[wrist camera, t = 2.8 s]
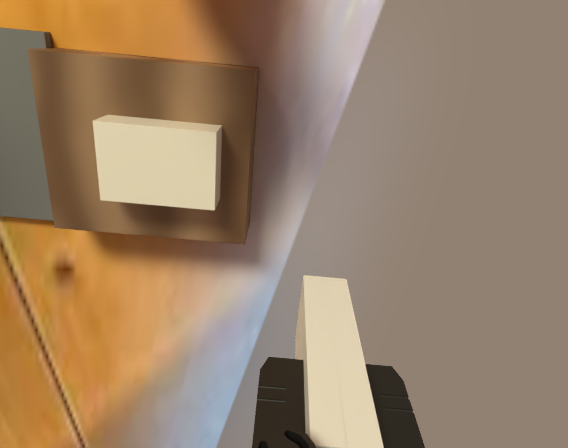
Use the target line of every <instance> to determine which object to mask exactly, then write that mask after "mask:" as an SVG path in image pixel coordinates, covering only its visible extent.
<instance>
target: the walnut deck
mask: <svg viewBox="0 0 568 448" xmlns="http://www.w3.org/2000/svg"><path fill="white" fill-rule="evenodd" d="M27 50H28V56H29V63H30V69H31V76H32V83H33V89H34V96H35V102H36V109H37V115H38V122H39V128H40V135H41V142H42V148H43V155H44V161H45V168H46V174H47V181H48V188H49V194H50V201H51V207H52V214H53V220H54V227H55V228H64V229H75V230H86V231H98V232H109V233H120V234H132V235H143V236H155V237H166V238H177V239H189V240H200V241H211V242H223V243H234V244H245V241H246V236H247V232H248V228H249V222H250V205H251V189H252V173H253V156H254V140H255V124H256V107H257V91H258V75H259V68H258V67H248V66H238V65H228V64H217V63H207V62H197V61H187V60H176V59H166V58H156V57H146V56H135V55H125V54H115V53H104V52H94V51H84V50H74V49H63V48H44V49H27ZM106 115H116V116H127V117H138V118H148V119H159V120H169V121H180V122H191V123H201V124H212V125H222V147H221V183H220V200H219V202H218V204H217V206H216V209H215V210H203V209H192V208H181V207H170V206H159V205H148V204H136V203H125V202H114V201H103V200H100V191H99V181H98V171H97V161H96V151H95V141H94V131H93V120H96V119H98V118H101V117H103V116H106Z"/></svg>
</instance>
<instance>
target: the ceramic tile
mask: <svg viewBox="0 0 568 448" xmlns="http://www.w3.org/2000/svg"><path fill="white" fill-rule="evenodd" d="M93 131H94V141H95V151H96V161H97V171H98V181H99V191H100V200H103V201H114V202H125V203H136V204H148V205H159V206H170V207H181V208H192V209H203V210H215V209H216V206H217V204H218V202H219V200H220V183H221V147H222V125H212V124H201V123H191V122H180V121H169V120H159V119H148V118H138V117H127V116H116V115H106V116H103V117H101V118H98V119H96V120H93Z"/></svg>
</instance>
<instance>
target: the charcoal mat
mask: <svg viewBox="0 0 568 448" xmlns="http://www.w3.org/2000/svg"><path fill="white" fill-rule="evenodd" d="M44 48H52V44H51V36H50V32H40V31H30V30H19V29H9V28H0V216H5V217H17V218H28V219H39V220H51V221H54V220H53V214H52V207H51V201H50V194H49V188H48V181H47V174H46V168H45V161H44V155H43V148H42V142H41V135H40V128H39V122H38V115H37V109H36V102H35V96H34V89H33V83H32V76H31V69H30V63H29V56H28V50H27V49H44Z"/></svg>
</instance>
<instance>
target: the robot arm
mask: <svg viewBox="0 0 568 448" xmlns="http://www.w3.org/2000/svg"><path fill="white" fill-rule="evenodd" d="M252 448H425V447H424V443H423V440H422V437H421V434H420V431H419V428H418V425H417V422H416V418H415V415H414V413H413V409H412V406H411V403H410V400H408V394H407V391H406V388H405V384H404V382H403V380H402V378H401V377H400V376H399V375H398V374H397V372H396V371H395V370H394V369H393V367H392V366H381V365H370V364H365V361H364V357H363V352H362V348H361V343H360V339H359V334H358V330H357V325H356V321H355V316H354V312H353V307H352V303H351V298H350V294H349V289H348V285H347V280H346V279H339V278H327V277H317V276H305V275H303V283H302V291H301V299H300V306H299V314H298V322H297V330H296V359H287V358H275V357H268V359H267V360H266V362H265V363H264V365H263V366H262V368H261V369H260V377H259V386H258V395H257V405H256V415H255V424H254V434H253V444H252Z"/></svg>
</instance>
